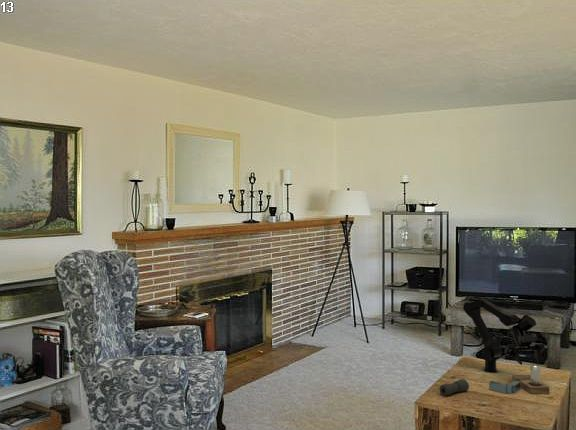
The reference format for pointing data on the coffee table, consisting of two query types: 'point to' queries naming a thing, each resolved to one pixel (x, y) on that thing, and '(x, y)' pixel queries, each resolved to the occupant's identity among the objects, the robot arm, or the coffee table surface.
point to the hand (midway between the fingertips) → (530, 364)
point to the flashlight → (454, 387)
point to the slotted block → (526, 384)
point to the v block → (505, 387)
